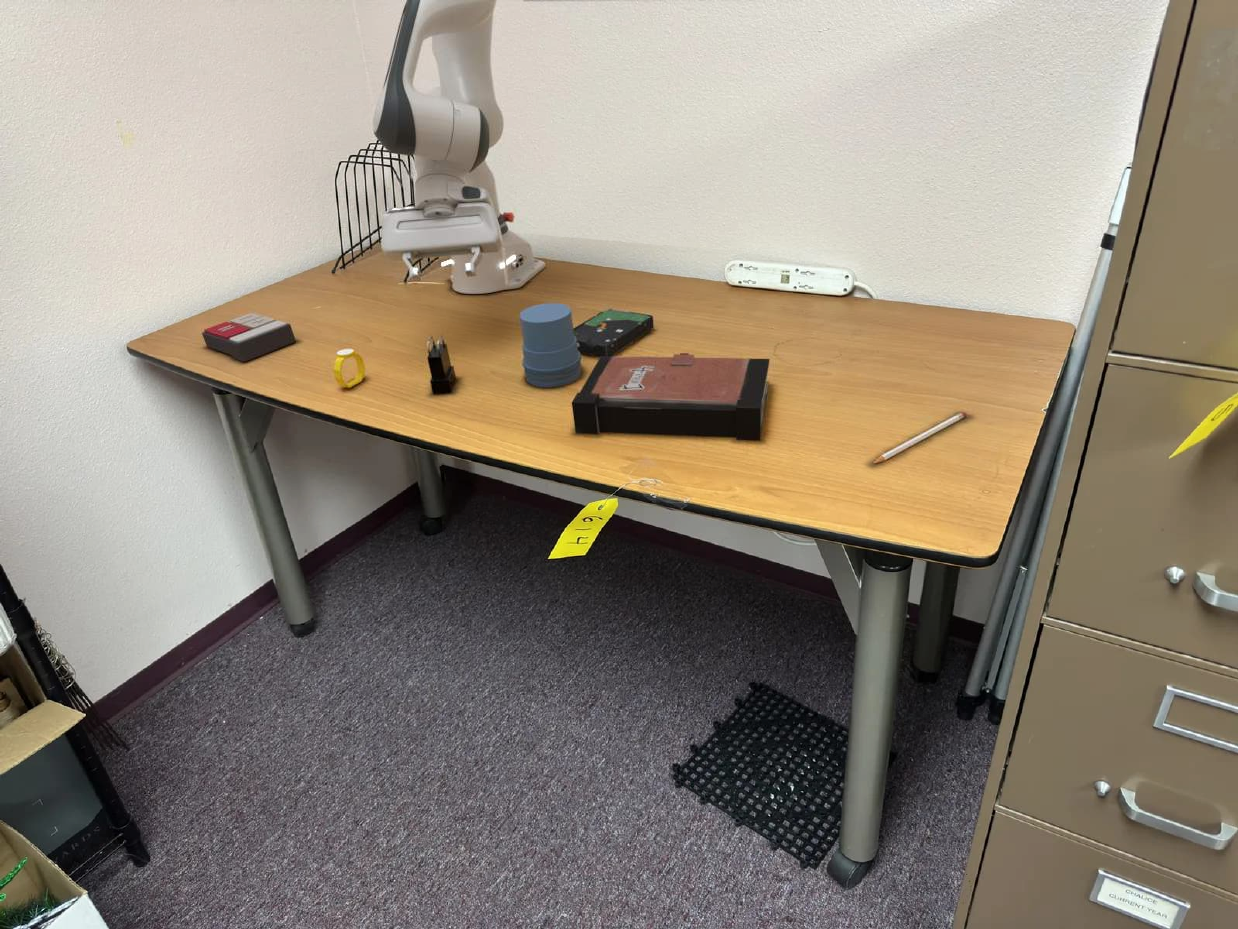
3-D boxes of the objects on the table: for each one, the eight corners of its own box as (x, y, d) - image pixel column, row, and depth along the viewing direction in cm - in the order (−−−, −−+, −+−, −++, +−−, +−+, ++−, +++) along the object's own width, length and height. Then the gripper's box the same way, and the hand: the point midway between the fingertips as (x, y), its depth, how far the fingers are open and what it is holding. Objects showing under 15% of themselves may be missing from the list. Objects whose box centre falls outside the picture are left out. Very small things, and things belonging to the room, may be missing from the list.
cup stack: (546, 359, 141) (537, 298, 135) (593, 368, 136) (586, 305, 130) (513, 383, 134) (502, 319, 128) (562, 392, 129) (553, 327, 123)
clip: (438, 380, 137) (428, 333, 133) (456, 379, 137) (446, 332, 132) (432, 394, 133) (422, 346, 128) (451, 393, 132) (440, 344, 128)
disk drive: (608, 361, 138) (655, 328, 148) (607, 346, 137) (654, 314, 147) (560, 351, 144) (608, 320, 154) (558, 336, 142) (606, 306, 152)
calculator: (251, 310, 165) (289, 320, 155) (259, 330, 167) (297, 341, 158) (199, 329, 158) (235, 340, 149) (207, 349, 160) (244, 362, 151)
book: (769, 383, 126) (769, 353, 123) (760, 440, 111) (760, 408, 109) (604, 380, 132) (601, 351, 129) (575, 433, 117) (571, 402, 115)
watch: (348, 393, 136) (339, 360, 133) (335, 391, 137) (325, 358, 134) (371, 377, 140) (362, 345, 137) (358, 376, 141) (349, 344, 138)
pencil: (966, 417, 112) (967, 413, 112) (875, 466, 104) (875, 462, 103) (961, 415, 113) (961, 411, 112) (870, 464, 104) (870, 459, 104)
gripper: (375, 199, 138) (375, 274, 135) (495, 188, 137) (499, 263, 134) (387, 218, 144) (387, 290, 141) (502, 208, 144) (505, 280, 140)
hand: (443, 277), depth 137 cm, fingers open, 8 cm apart
